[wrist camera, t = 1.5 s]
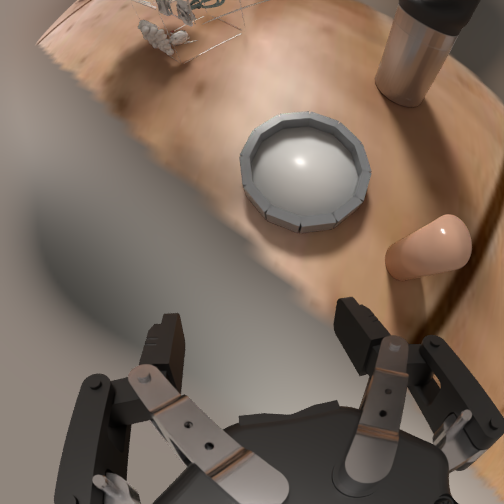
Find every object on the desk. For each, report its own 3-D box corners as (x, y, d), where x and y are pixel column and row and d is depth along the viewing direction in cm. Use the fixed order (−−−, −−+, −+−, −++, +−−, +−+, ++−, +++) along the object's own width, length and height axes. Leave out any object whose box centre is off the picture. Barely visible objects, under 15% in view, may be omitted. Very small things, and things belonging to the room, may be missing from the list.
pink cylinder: (391, 235, 32) (437, 205, 20) (421, 250, 31) (474, 227, 19) (380, 272, 31) (426, 256, 19) (412, 286, 30) (466, 277, 18)
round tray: (270, 112, 37) (269, 99, 34) (374, 149, 34) (380, 138, 31) (224, 204, 35) (218, 196, 32) (342, 251, 32) (348, 246, 29)
